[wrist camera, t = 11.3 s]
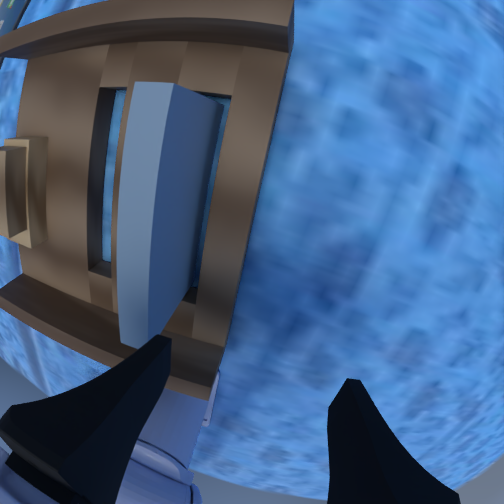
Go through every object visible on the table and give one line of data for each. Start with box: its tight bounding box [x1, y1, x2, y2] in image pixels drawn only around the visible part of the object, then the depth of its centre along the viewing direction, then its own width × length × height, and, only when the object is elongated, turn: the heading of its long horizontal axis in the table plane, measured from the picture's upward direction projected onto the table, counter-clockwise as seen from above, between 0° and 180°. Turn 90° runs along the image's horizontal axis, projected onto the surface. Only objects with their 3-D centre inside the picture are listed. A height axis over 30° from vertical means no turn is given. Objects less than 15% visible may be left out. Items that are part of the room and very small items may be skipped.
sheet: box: [117, 82, 224, 349], centre depth 14 cm, size 12×2×8 cm, turn 168°
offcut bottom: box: [4, 136, 48, 249], centre depth 16 cm, size 8×4×2 cm, turn 168°
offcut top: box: [0, 146, 27, 238], centre depth 14 cm, size 6×3×2 cm, turn 168°
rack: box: [0, 0, 294, 401], centre depth 16 cm, size 22×20×6 cm
